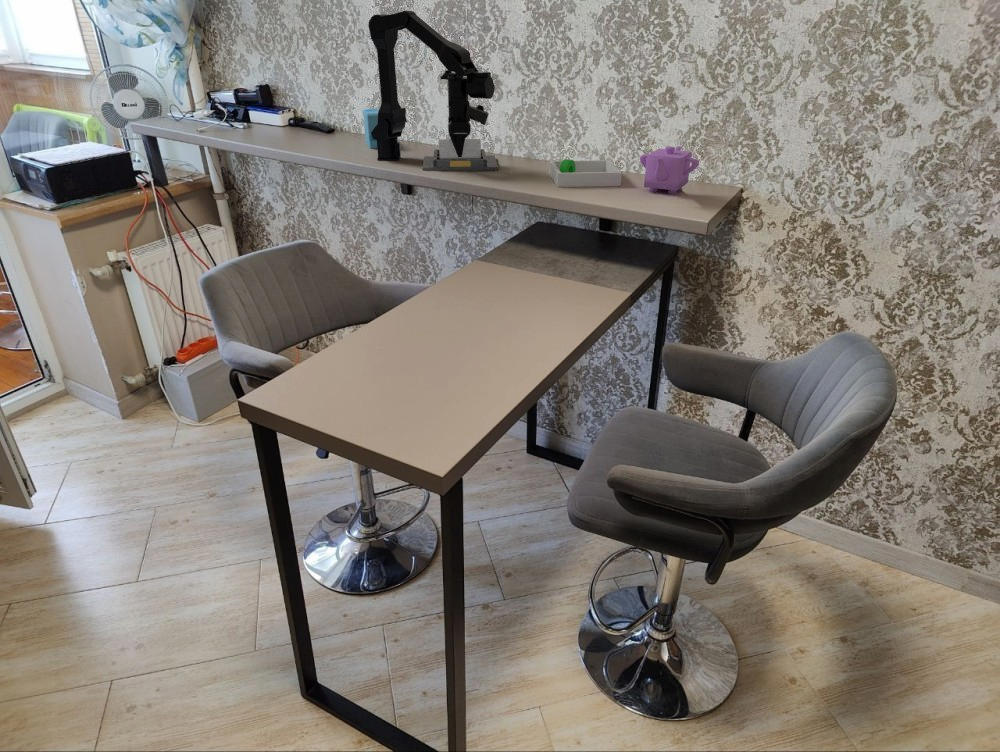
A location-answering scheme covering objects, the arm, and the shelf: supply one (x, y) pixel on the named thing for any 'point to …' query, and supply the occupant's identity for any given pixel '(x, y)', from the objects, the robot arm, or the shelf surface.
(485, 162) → the rack
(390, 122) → the robot arm
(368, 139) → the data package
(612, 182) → the parts corral
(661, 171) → the teapot
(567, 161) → the mechanical part
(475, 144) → the panel
